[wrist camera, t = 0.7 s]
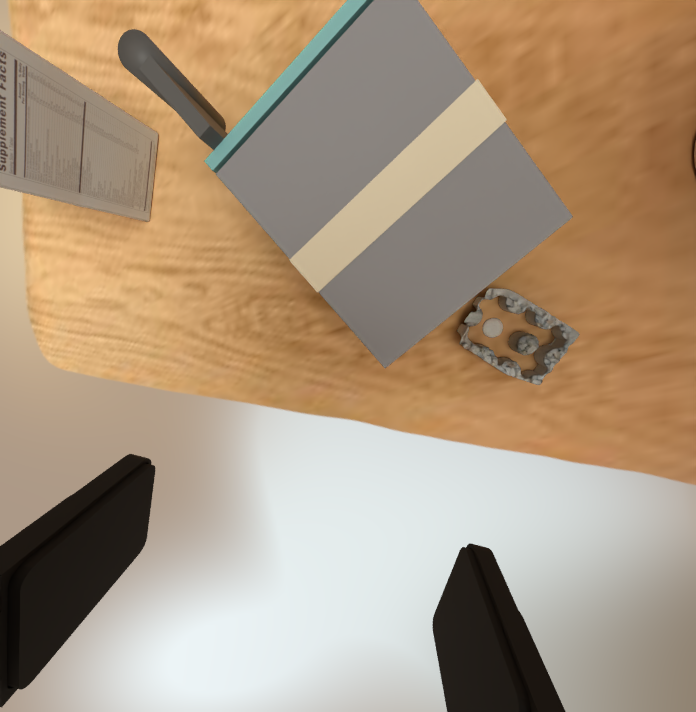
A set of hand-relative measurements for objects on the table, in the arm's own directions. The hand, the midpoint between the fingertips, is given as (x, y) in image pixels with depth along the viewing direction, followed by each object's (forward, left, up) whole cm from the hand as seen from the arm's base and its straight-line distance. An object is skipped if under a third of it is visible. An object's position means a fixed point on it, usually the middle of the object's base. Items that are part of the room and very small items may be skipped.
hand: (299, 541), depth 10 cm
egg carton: (-14, +10, -31) cm, 35 cm away
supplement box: (+7, -32, -31) cm, 44 cm away
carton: (-11, -8, -30) cm, 33 cm away
